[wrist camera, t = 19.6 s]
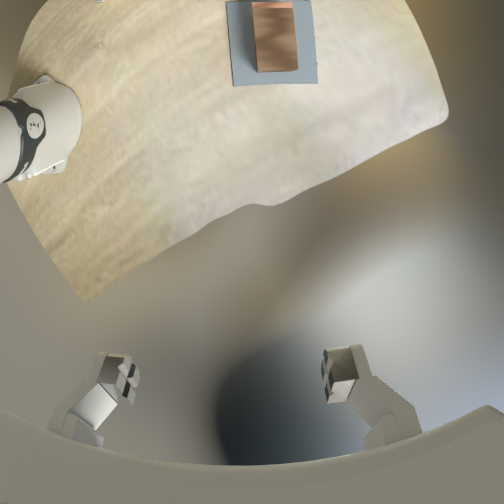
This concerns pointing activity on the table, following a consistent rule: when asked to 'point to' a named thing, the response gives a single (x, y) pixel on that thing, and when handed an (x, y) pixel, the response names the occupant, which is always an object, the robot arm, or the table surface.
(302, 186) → the table surface
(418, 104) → the table surface
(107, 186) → the table surface
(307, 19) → the slate pad
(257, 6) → the walnut block
